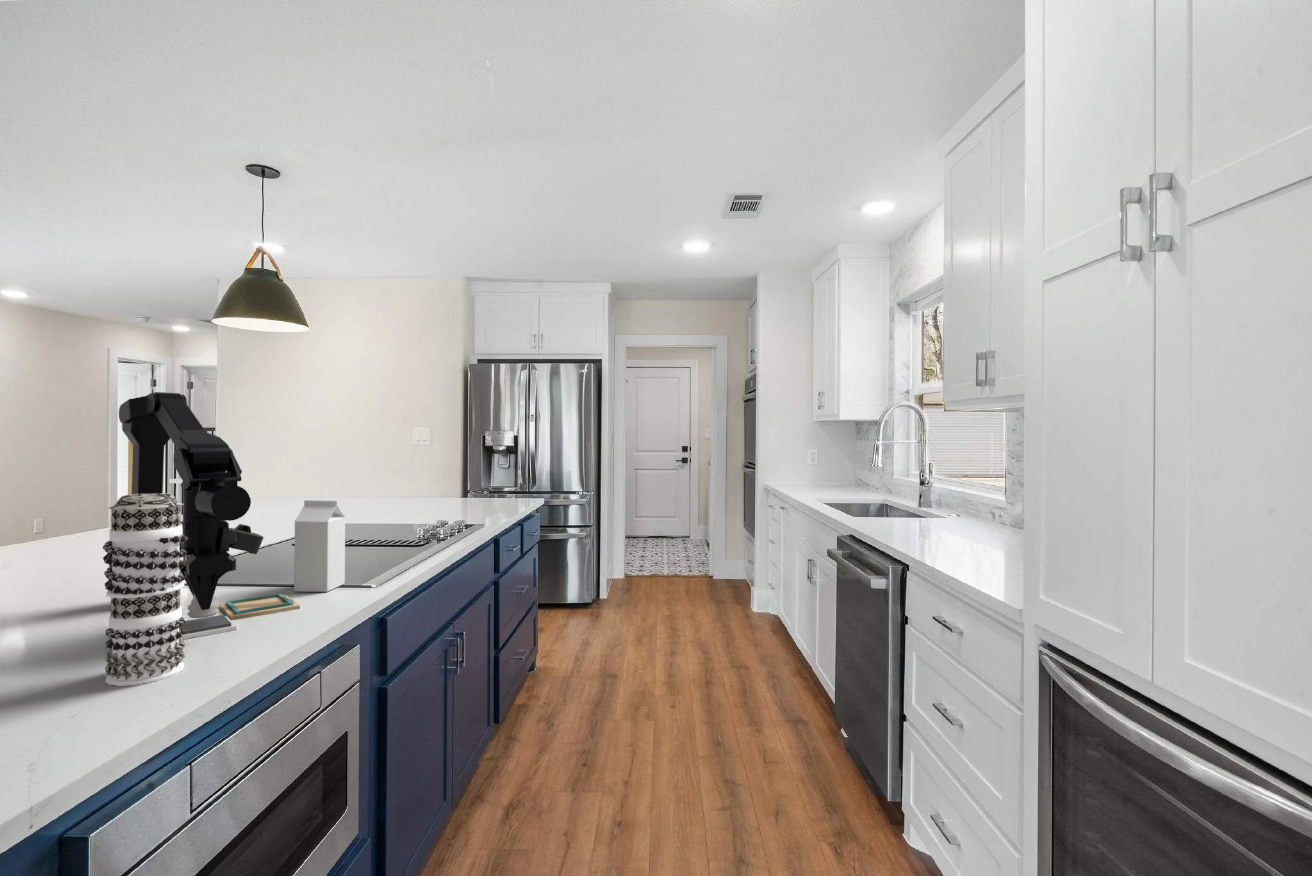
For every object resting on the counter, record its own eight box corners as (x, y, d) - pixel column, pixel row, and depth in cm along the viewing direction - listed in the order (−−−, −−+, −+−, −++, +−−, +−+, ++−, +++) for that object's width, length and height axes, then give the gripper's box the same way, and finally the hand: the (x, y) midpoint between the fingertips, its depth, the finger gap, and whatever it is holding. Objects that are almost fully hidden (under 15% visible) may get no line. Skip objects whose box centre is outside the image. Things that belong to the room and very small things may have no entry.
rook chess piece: (202, 619, 102) (202, 571, 102) (179, 617, 103) (180, 569, 103) (225, 611, 107) (226, 565, 107) (204, 610, 108) (204, 564, 108)
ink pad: (170, 628, 105) (170, 622, 105) (226, 619, 110) (226, 613, 110) (177, 640, 99) (177, 633, 99) (236, 629, 105) (236, 623, 105)
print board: (219, 607, 118) (219, 601, 118) (284, 596, 126) (284, 591, 126) (231, 619, 110) (231, 613, 110) (299, 608, 118) (299, 602, 118)
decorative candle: (177, 656, 92) (178, 490, 92) (196, 672, 86) (197, 494, 86) (96, 674, 85) (96, 494, 85) (110, 693, 79) (111, 499, 79)
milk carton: (327, 592, 129) (327, 502, 129) (293, 592, 130) (294, 502, 129) (344, 584, 137) (345, 499, 136) (313, 583, 137) (314, 498, 137)
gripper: (272, 517, 104) (271, 609, 104) (247, 506, 117) (246, 588, 117) (190, 523, 96) (189, 623, 96) (173, 511, 109) (172, 598, 109)
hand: (203, 606), depth 105 cm, fingers closed on rook chess piece, 4 cm apart
